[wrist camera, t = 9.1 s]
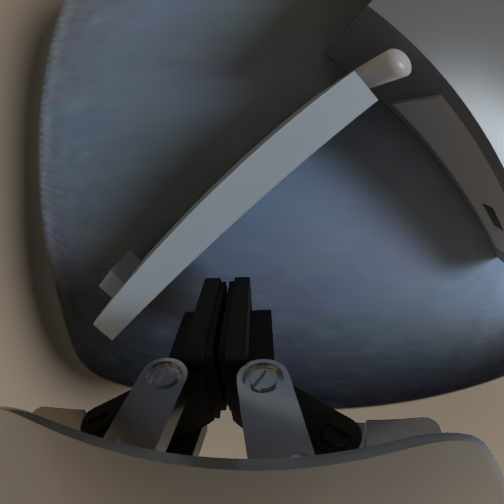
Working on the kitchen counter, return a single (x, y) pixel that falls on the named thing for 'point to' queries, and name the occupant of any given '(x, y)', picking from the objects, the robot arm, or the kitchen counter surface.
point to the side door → (230, 200)
